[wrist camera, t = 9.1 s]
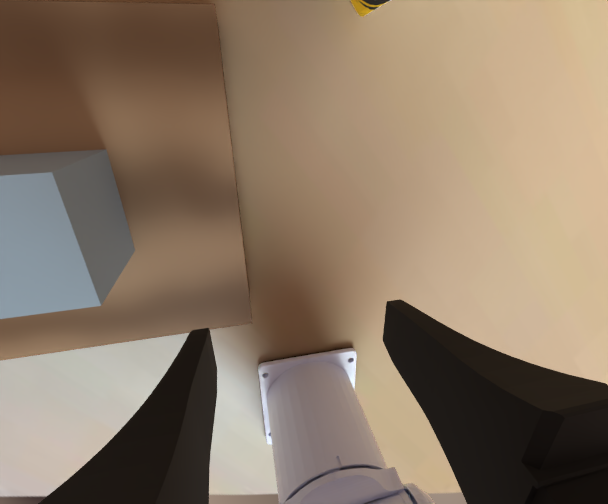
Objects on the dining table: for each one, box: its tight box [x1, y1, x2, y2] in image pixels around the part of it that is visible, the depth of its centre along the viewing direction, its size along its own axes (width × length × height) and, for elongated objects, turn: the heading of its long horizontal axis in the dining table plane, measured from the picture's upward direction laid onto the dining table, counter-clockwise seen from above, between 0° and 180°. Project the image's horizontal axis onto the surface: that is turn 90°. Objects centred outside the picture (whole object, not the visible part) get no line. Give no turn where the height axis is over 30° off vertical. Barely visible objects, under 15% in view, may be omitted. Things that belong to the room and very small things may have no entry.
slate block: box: [0, 149, 135, 319], centre depth 13 cm, size 5×5×5 cm
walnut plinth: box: [0, 0, 252, 360], centre depth 16 cm, size 16×16×3 cm
